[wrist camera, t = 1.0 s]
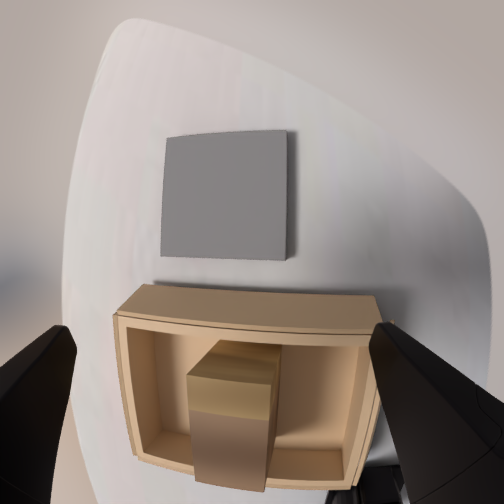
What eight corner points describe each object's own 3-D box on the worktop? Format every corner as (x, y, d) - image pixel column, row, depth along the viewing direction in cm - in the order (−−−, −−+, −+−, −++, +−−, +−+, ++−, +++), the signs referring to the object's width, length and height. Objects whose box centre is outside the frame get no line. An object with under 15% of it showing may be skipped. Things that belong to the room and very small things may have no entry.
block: (275, 437, 19) (263, 492, 13) (221, 430, 19) (195, 481, 13) (282, 343, 18) (270, 384, 13) (220, 338, 19) (186, 374, 13)
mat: (285, 259, 19) (284, 260, 18) (167, 255, 20) (160, 256, 19) (287, 135, 19) (286, 130, 18) (172, 142, 20) (167, 138, 19)
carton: (362, 465, 18) (368, 498, 14) (145, 439, 21) (123, 464, 17) (393, 293, 18) (414, 306, 14) (130, 281, 21) (96, 288, 17)
